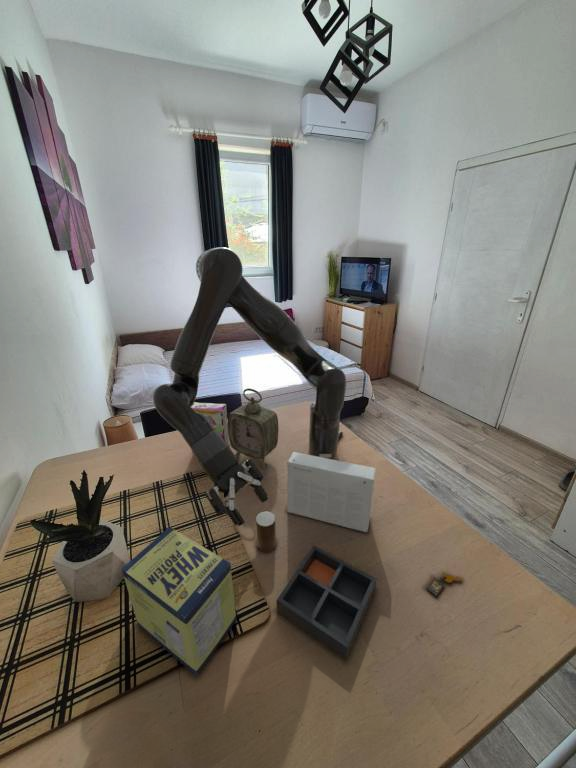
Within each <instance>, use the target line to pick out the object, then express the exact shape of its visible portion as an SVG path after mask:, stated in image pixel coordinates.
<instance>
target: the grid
mask: <svg viewBox="0 0 576 768" xmlns="http://www.w3.org/2000/svg"><path fill="white" fill-rule="evenodd" d="M377 581H378V580H377V578H376V577H374V576H372V575H370V574H368V573H367V572H364V571H362V570H360V569H359V568H357V567H355V566H353V565H351V564H350V563H347V562H346V561H344V560H341V559H340V558H338V557H336V556H335V555H333V554H331V553H329V552H328V551H326V550H323V549H321V548H319V547H317V546H316V545H313V546H312V547H311V549H310V550H309V552H308V553H307V554H306V556H305V557H304V559H303V560H302V562H301V564H300V565H299V567H298V568H297V569H296V571H295V572H294V574H293V575H292V577H291V578H290V579H289V581H288V583H287V584H286V585H285V587H284V588H283V590H282V591H281V593H280V595H279V596H278V597H277V599H276V612H277V613H278V614H280V615H281V616H282V617H284V618H285V619H287V620H288V621H290V622H291V623H293V624H294V625H295V626H297V627H298V628H300V629H301V630H303V631H304V632H305V633H307V634H308V635H310V636H311V637H312V638H314V639H316V640H317V641H318V642H320V644H323V645H324V646H325V647H327V648H328V649H329V650H331V651H333V652H334V653H335V654H337V655H339V657H341V658H343V659H344V660H347V659H348V656H349V654H350V651H351V649H352V647H353V644H354V642H355V640H356V637H357V635H358V632H359V630H360V627H361V625H362V623H363V620H364V617H365V615H366V613H367V611H368V608H369V605H370V603H371V600H372V599H373V596H374V593H375V591H376V585H377Z"/></svg>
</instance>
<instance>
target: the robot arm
mask: <svg viewBox="0 0 576 768" xmlns="http://www.w3.org/2000/svg"><path fill="white" fill-rule="evenodd" d="M195 272H196V276H197V278H198V280H199V282H200V285H199V290H198V293H197V297H196V300H195V303H194V306H193V308H192V311H191V313H190V315H189V317H188V319H187V321H186V322H185V324H184V327H183V329H182V330H181V332H180V334H179V336H178V340H177V342H176V344H175V348H174V350H173V354H172V356H171V360H170V363H169V367H170V370H171V371H172V372H173V373H174V375H173V376H174V377H173V381H172V382H171V383H163V384H161V385H159V386H157V387H156V388H155V389H154V391H153V394H152V402H153V405H154V408H155V410H156V411H157V413H158V414H159V415H160V416H161V418H163V419H164V420H165V421H166V422H167V423H168V424H169V425H170V426H172V428H174V429H175V431H177V432H179V433H180V435H181V436H182V437H183V439H184V441H185V442H186V444H187V446H188V447H189V448H190V450H191V452H192V454H193V456H194V457H195V459H196V461H197V462H198V463H199V465H200V466H201V467H202V469H203V471H205V473H206V475H207V476H208V478H209V479H210V480H211V481H212V482H213V483H214V487H212V488H210V489H208V490H207V491H205V493H204V495H205V497H206V499H207V501H208V502H209V504H210V505H211V508H212V509H213V510H214V512H215V513H216V515H217V516H218V517H220V516H223V515H228V517H229V518H230V520H231V521H232V523H233V524H234V525H235V526H238V527H240V526H243V525H244V524H245V522H246V521H245V519H244V518H243V516H242V515H241V513H240V512H239V510H238V509H237V508H236V507H235V499H236V494H237V493H238V492H239V491H240V490H241V489H242V488H244V487H249V488H251V489H253V490H252V491H253V492H254V494H256V497H257V498H258V500H259V501H260V502H261V503H265V502H267V501H268V500H269V497H268V494H267V491H266V490H265V489H264V487H263V486H262V483H261V482H262V481H263V479H264V478H265V477H264V474H263V472H261V471H260V470H259V468H258V467H257V466H256V464H255V463H254V462H253V460H251V458H248V459H246V460H245V461H243V462H242V464H241V463H239V460H238V457H237V456H236V455H235V453H234V452H233V450H232V448H231V447H230V445H229V446H228V445H227V443H226V442H225V440H224V439H223V438H222V436H221V435H220V434H219V433H218V432H217V431H216V430H215V428H214V427H213V425H212V424H211V422H210V421H209V420H208V418H207V417H206V416H205V415H204V414H203V413H200V412H196V411H194V410H193V409H192V408H191V406H192V405H193V403H194V402H196V399H197V395H198V390H199V385H200V383H199V382H200V373H201V370H202V368H203V364H204V362H205V359H206V357H207V354H208V351H209V348H210V345H211V342H212V339H213V337H214V334H215V332H216V329H217V326H218V325H219V322H220V320H221V317H222V315H223V313H224V311H225V309H226V307H227V306H230V307H231V308H232V309H233V310H234V311H235V313H237V314H238V315H239V317H241V319H242V320H243V321H244V322H245V323H246V324H247V325H248V327H250V329H251V330H252V331H253V332H254V333H255V334H256V335H257V336H258V338H260V339H261V340H262V341H263V342H264V343H265V344H266V345H267V346H268V347H269V348H270V349H271V350H273V351H274V352H275V353H276V354H277V355H278V356H280V357H281V358H283V359H284V360H286V361H288V362H289V363H290V364H292V365H293V366H294V367H295V368H296V369H297V370H298V372H299V373H300V374H301V375H302V376H303V378H304V379H305V380H306V381H307V382H308V384H309V386H310V387H311V388H312V389H313V390H315V392H316V393H315V394H316V396H315V400H314V401H312V402H311V404H310V406H309V428H308V429H309V431H308V432H309V433H308V455H312V456H317V457H322V458H327V459H332V460H337V461H338V451H339V450H338V448H339V440H340V439H341V437H342V436H343V434H344V432H342V431H340V424H341V423H340V422H341V421H340V420H341V412H342V409H343V408H344V405H345V398H346V391H347V390H346V389H347V377H346V374H345V372H344V371H343V370H342V369H341V368H339V367H338V366H336V365H335V364H334V363H332V362H331V361H329V360H328V359H326V358H324V357H323V356H322V355H321V354H320V353H319V352H318V351H317V350H315V348H314V347H312V346H311V344H310V343H309V341H308V340H307V338H306V336H305V334H304V333H303V330H302V329H301V328H300V327H299V326H298V324H297V323H296V322H295V321H294V319H292V318H291V316H289V315H288V314H287V312H286V311H285V310H283V309H282V308H281V307H280V306H279V305H277V304H276V303H275V302H273V300H271V299H269V298H268V297H267V296H265V295H264V294H262V293H261V292H259V291H258V290H257V289H256V288H254V287H253V285H252V284H251V283H250V282H248V280H247V279H246V278H245V277H244V275H243V272H244V271H243V264H242V261H241V258H240V257H239V256H238V254H237V253H236V252H235V251H234V250H232V249H230V248H228V247H213V248H210V249H208V250H205V251H203V252H202V253H201V254H199V256H198V257H197V260H196V262H195ZM246 472H247V473H248V474H249V475H248V474H246ZM219 492H220V493H222V499H221V498H220V495H219V494H220V493H219Z"/></svg>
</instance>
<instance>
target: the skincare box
mask: <svg viewBox="0 0 576 768" xmlns="http://www.w3.org/2000/svg"><path fill="white" fill-rule="evenodd" d="M286 463H287V464H286V465H287V482H286V493H287V496H286V497H287V499H286V502H287V505H286V512H287V513H290V514H294V515H298V516H301V517H306V518H309V519H312V520H317V521H321V522H323V523H324V522H325V523H329V524H332V525H336V526H341V527H344V528H348V529H352V530H356V531H360V532H363V533H368V532H369V526H370V519H371V511H372V504H373V495H374V489H375V479H376V470H377V468H376V467H371V466H368V465H367V466H366V465H362V464H357V463H351V462H347V461H342V460H338V459H337V460H332V459H327V458H322V457H317V456H312V455H309V454H306V453H301V452H297V451H293V452H292V453H291V455H290V457H289V459H288V460H287V462H286Z"/></svg>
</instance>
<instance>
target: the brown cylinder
mask: <svg viewBox="0 0 576 768" xmlns="http://www.w3.org/2000/svg"><path fill="white" fill-rule="evenodd" d="M255 528H256V529H255V531H256V546H257V549H258V550H259V551H261V552H263V553H269V552H272V551H273V550H274V549H275V548H276V546H277V543H276V542H277V534H276V533H277V531H276V529H277V528H276V515H275V514H274V513H273V512H271V511H261V512H259V513H258V514H257V515H256V517H255Z"/></svg>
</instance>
